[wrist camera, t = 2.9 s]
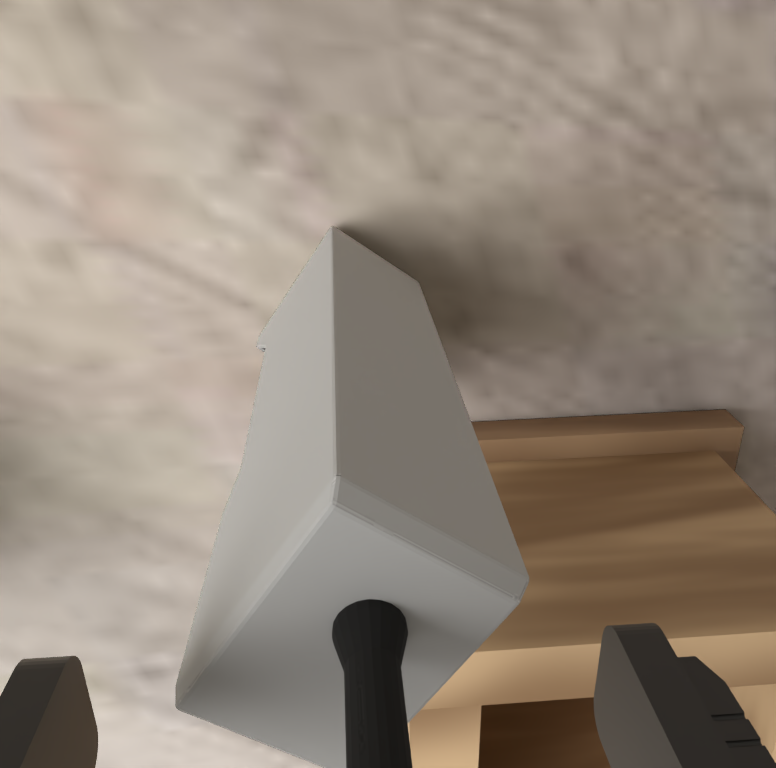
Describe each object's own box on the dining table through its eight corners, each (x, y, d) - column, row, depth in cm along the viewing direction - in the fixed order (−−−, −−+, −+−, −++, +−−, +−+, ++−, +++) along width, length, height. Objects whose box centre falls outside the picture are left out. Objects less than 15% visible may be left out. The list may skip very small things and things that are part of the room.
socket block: (356, 427, 29) (370, 630, 19) (725, 409, 30) (924, 593, 20) (367, 716, 36) (383, 977, 26) (668, 694, 37) (795, 938, 27)
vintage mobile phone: (257, 335, 27) (-108, 1845, 4) (332, 222, 25) (357, 1658, 3) (343, 384, 28) (402, 1797, 5) (418, 279, 27) (937, 1647, 4)
